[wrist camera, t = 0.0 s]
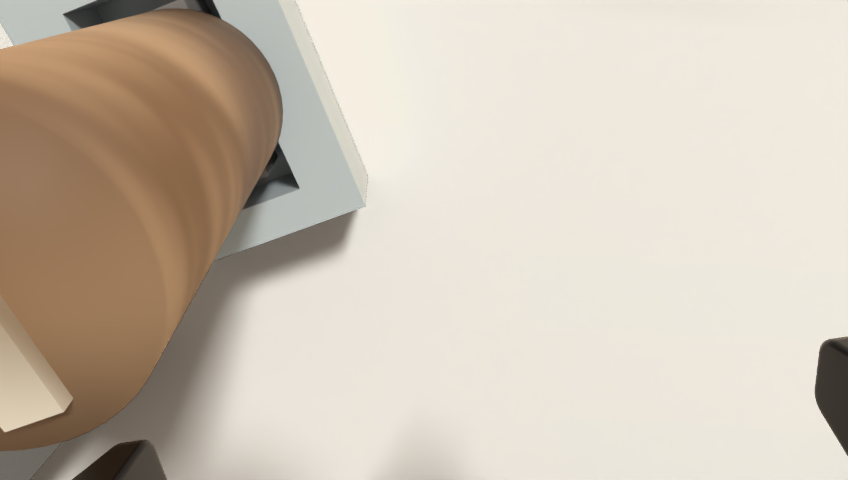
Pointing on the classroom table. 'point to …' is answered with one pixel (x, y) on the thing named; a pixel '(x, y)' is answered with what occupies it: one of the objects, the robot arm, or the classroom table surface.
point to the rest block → (301, 99)
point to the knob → (117, 202)
